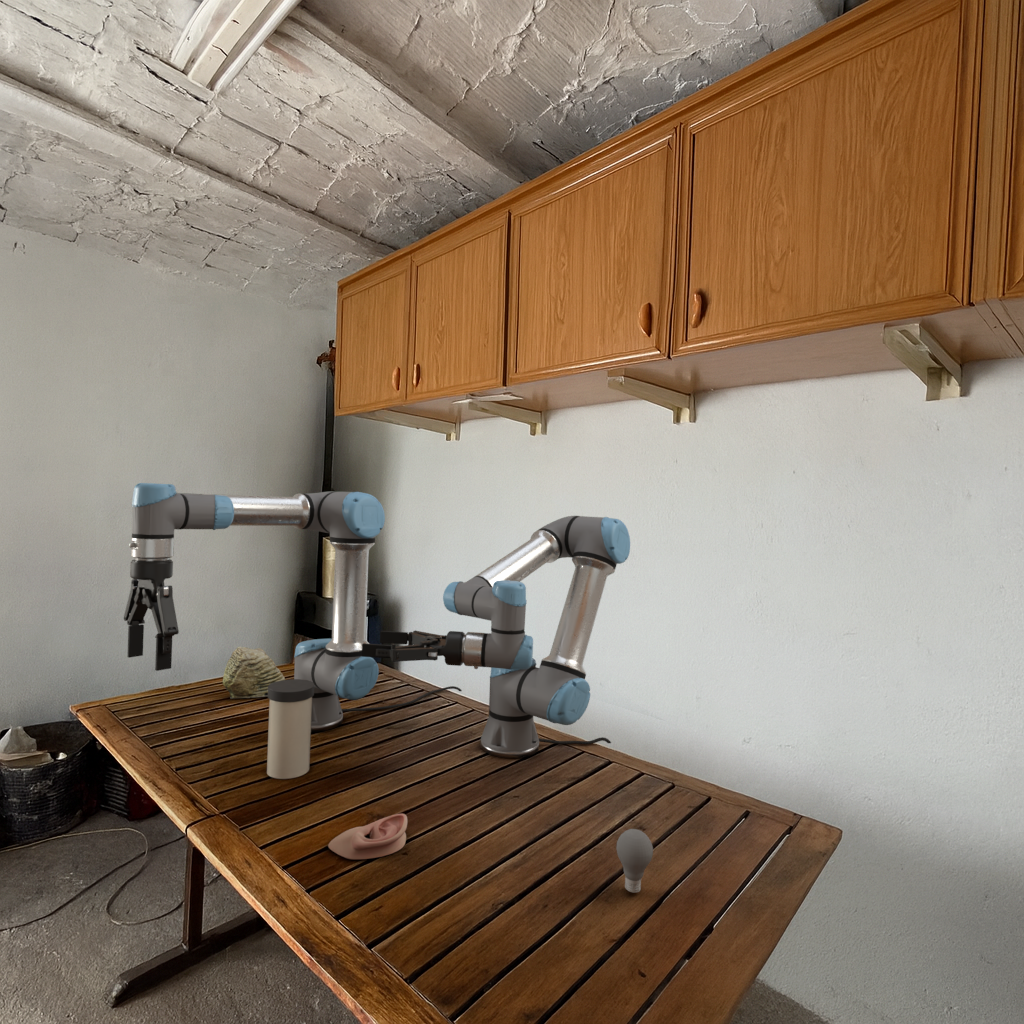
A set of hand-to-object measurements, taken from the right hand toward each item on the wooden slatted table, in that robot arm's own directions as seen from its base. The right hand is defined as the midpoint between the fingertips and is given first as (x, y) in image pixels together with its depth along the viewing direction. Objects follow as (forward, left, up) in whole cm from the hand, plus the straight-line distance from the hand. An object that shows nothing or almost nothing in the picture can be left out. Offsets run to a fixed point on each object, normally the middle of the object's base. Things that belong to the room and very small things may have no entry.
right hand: (371, 643), depth 144 cm
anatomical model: (+4, +29, -31) cm, 42 cm away
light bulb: (-36, +55, -31) cm, 73 cm away
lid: (+17, -8, -11) cm, 22 cm away
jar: (+17, -8, -31) cm, 36 cm away
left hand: (+45, -1, -3) cm, 45 cm away
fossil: (+26, -67, -31) cm, 78 cm away
